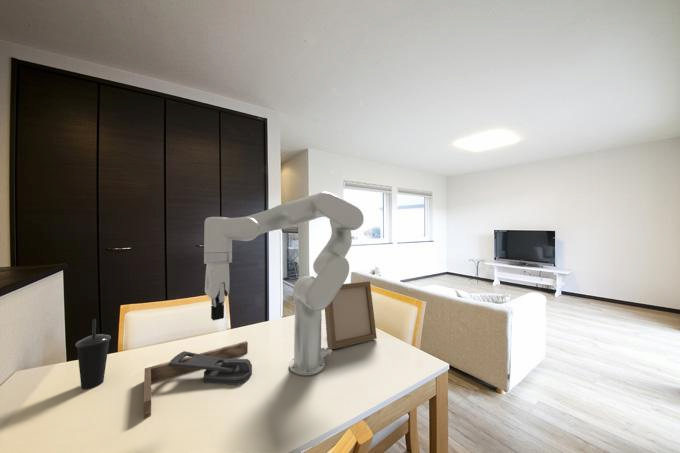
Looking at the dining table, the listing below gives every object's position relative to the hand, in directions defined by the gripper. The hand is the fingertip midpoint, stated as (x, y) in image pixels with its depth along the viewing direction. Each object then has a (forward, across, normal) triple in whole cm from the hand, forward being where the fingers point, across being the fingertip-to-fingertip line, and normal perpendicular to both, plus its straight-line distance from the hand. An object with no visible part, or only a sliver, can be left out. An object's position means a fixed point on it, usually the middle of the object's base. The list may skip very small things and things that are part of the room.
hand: (217, 318), depth 73 cm
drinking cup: (+21, -26, -29) cm, 45 cm away
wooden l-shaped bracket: (+21, -9, 0) cm, 23 cm away
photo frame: (+22, -2, +53) cm, 58 cm away
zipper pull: (+22, -8, +1) cm, 23 cm away
